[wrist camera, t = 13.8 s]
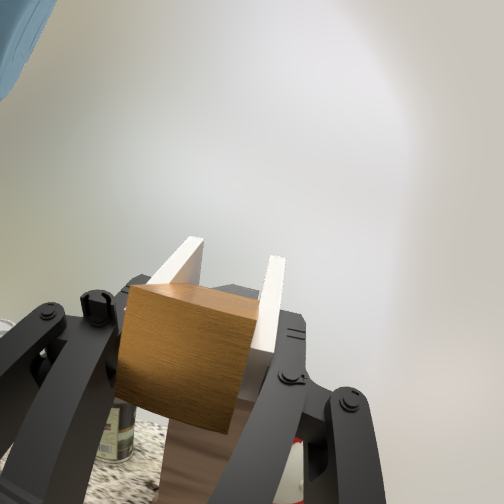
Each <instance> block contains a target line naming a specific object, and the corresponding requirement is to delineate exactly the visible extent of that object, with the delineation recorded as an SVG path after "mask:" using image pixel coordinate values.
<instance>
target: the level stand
mask: <svg viewBox="0 0 504 504" xmlns="http://www.w3.org/2000/svg"><path fill="white" fill-rule="evenodd" d="M255 403H256V402H253V401H248V400H244V399H240V398H237V401H236V404H235V408H234V412H233V415H232V419H231V423H230V426H229V430H228V434H227V435H224V434H220V433H216V432H212V431H209V430H205V429H201V428H198V427H194V426H191V425H188V424H185V423H182V422H178V421H175V420H172V419H169V424H168V430H167V436H166V442H165V449H164V455H163V462H162V469H161V476H160V484H159V490H158V492H157V494H156V495H155V497H154V499H153V501H152V503H151V504H207V502H208V501H209V499H210V497H211V495H212V493H213V491H214V489H215V487H216V485H217V483H218V481H219V479H220V477H221V475H222V473H223V471H224V469H225V467H226V465H227V463H228V461H229V459H230V457H231V455H232V453H233V451H234V449H235V447H236V445H237V443H238V440H239V438H240V436H241V434H242V432H243V430H244V427H245V425H246V423H247V421H248V419H249V416H250V414H251V412H252V410H253V407H254V405H255Z"/></svg>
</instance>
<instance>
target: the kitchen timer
mask: <svg viewBox="0 0 504 504" xmlns="http://www.w3.org/2000/svg"><path fill="white" fill-rule="evenodd" d="M302 441H303V440H301V439H298V438H296V437H295V438H294V441H293V444H292V447H291V451H290V454H289V457H288V460H287V463H286V466H285V469H284V472H283V475H282V478H281V481H280V484H279V486H278V489H277V492H276V495H275V497H274V500H273V503H272V504H303V445H302V444H301V442H302Z"/></svg>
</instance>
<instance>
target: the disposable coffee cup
mask: <svg viewBox="0 0 504 504" xmlns="http://www.w3.org/2000/svg"><path fill="white" fill-rule="evenodd" d="M15 325H16V324H15V323H14V322H12V321H9V320H5V319H1V318H0V338H1V337H2V336H3V335H4V334H6V333H7V332H8V331H9V330H10V329H11V328H13V327H14V326H15Z"/></svg>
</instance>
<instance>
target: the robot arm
mask: <svg viewBox="0 0 504 504" xmlns="http://www.w3.org/2000/svg"><path fill="white" fill-rule="evenodd" d="M56 2H57V0H0V101H1V100H2V99H4V98H5V97H6V96H7V94H8V93H9V92H10V90H11V89H12V87H13V86H14V84H15V83H16V81H17V79H18V77H19V75H20V73H21V71H22V69H23V66H24V64H25V63H26V62H27V61H28V59H29V57H30V55H31V53H32V51H33V49H34V47H35V45H36V43H37V41H38V39H39V37H40V35H41V33H42V31H43V29H44V27H45V25H46V23H47V21H48V19H49V17H50V15H51V13H52V10H53V8H54V6H55V4H56ZM203 244H204V239H201V238H197V237H193V236H189V237H188V239H187V240H186V241H185V242H184V243H183V244H182V245H181V246H180V247H179V248H178V249H177V250H176V251H175V252H174V253H173V255H172V256H171V257H170V258H169V259H168V260H167V261H166V262H165V263H164V264H163V265H162V267H161V268H160V269H159V270H158V271H157V272H156V273H155V275H154V276H153V277H149V276H146V275H143V274H141V275H139V276H137V277H134V278H132V280H130V281H129V282H128V283H127V284H126V286H125V287H123V288H122V289H121V291H120V292H119V293H118V294H117V295H116V296H115V297H114V296H113V295H112V294H111V293H110V292H107V291H105V290H91V291H88V292H86V293H84V294H83V295H82V296H81V297H80V300H81V305H82V311H83V317H76V316H69V315H65V312H64V308H63V307H62V306H61V305H60V304H58V303H55V302H48V303H44V304H42V305H40V306H39V307H37V308H36V309H35V310H33V311H32V312H31V313H30V314H28V315H27V316H26V317H25V318H23V319H22V320H21V321H20V322H19V323H17V324H16V325H15V326H14V327H13V328H11V329H10V330H9V331H8V332H7V333H6V334H4V335H3V336H2V337H1V338H0V459H1V458H2V457H3V455H4V454H5V453H6V451H7V450H8V449H9V448H10V446H11V445H12V444H13V446H12V448H11V450H10V453H9V455H8V458H7V460H6V463H5V465H4V468H3V471H2V473H1V476H0V504H83V502H84V498H85V494H86V490H87V486H88V482H89V478H90V475H91V471H92V468H93V464H94V461H95V457H96V454H97V451H98V447H99V444H100V441H101V438H102V435H103V432H104V429H105V426H106V423H107V420H108V417H109V414H110V411H111V408H112V405H113V402H114V399H115V397H114V389H115V379H116V370H117V362H118V354H119V347H120V340H121V334H122V327H123V321H124V316H125V310H126V305H127V299H128V294H129V289H130V285H143V284H167V283H169V284H171V283H192V284H195V285H199V279H200V269H201V261H202V252H203ZM285 260H286V259H285V258H282V257H278V256H274V255H270V260H269V264H268V268H267V272H266V276H265V280H264V285H263V289H262V293H261V297H260V302H259V312H258V318H257V323H256V327H255V331H254V335H253V339H252V343H251V347H250V351H249V355H248V359H247V362H246V366H245V370H244V374H243V378H242V382H241V385H240V389H239V393H238V397H237V398H240V399H244V400H248V401H253V402H256V403H255V405H254V407H253V410H252V412H251V414H250V416H249V419H248V421H247V423H246V425H245V427H244V430H243V432H242V434H241V436H240V438H239V440H238V443H237V445H236V447H235V449H234V451H233V453H232V455H231V457H230V459H229V461H228V463H227V465H226V467H225V469H224V471H223V473H222V475H221V477H220V479H219V481H218V483H217V485H216V487H215V489H214V491H213V493H212V495H211V497H210V499H209V501H208V502H207V504H272V503H273V500H274V497H275V495H276V492H277V489H278V486H279V484H280V481H281V478H282V475H283V472H284V469H285V466H286V463H287V460H288V457H289V454H290V451H291V447H292V444H293V441H294V438H295V437H296V438H298V439H301V440H303V504H386V499H385V491H384V484H383V477H382V472H381V465H380V459H379V454H378V448H377V442H376V437H375V432H374V427H373V422H372V417H371V413H370V408H369V404H368V401H367V399H366V397H365V396H364V395H363V394H362V393H361V392H360V391H358V390H357V389H355V388H351V387H340V388H338V389H336V390H334V392H332V391H330V390H327V389H325V388H323V387H321V386H319V385H317V384H316V383H314V382H313V381H312V380H311V379H310V378H309V375H308V373H307V371H306V368H305V360H306V357H305V356H306V341H305V340H306V334H305V333H306V323H305V321H304V319H303V317H302V315H301V314H297V313H293V312H288V311H284V310H280V302H281V295H282V286H283V278H284V269H285ZM43 349H45V353H44V354H43V355H40V352H41V351H42V350H43ZM13 442H14V443H13Z"/></svg>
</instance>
